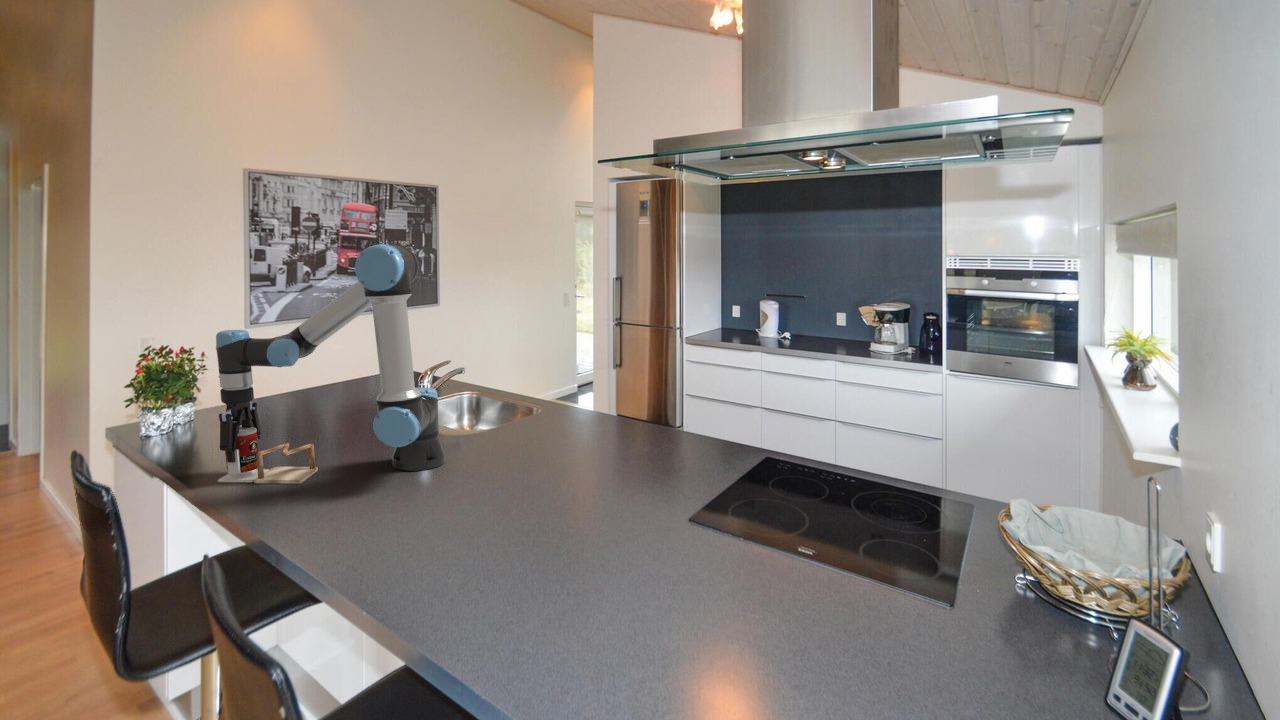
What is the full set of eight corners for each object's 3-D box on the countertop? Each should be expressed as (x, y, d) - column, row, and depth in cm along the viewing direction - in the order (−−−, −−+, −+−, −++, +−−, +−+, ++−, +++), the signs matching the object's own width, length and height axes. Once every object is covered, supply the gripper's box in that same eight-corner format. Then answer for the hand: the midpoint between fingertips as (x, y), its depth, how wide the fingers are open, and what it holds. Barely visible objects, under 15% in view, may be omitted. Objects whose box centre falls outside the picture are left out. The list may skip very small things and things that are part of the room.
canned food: (244, 474, 168) (241, 435, 166) (219, 471, 169) (215, 432, 168) (266, 465, 175) (263, 427, 173) (242, 462, 177) (239, 425, 175)
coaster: (269, 471, 177) (268, 469, 177) (252, 482, 169) (251, 480, 169) (236, 471, 177) (236, 469, 177) (217, 481, 168) (217, 479, 168)
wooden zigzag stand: (317, 470, 179) (316, 442, 178) (299, 483, 169) (297, 454, 167) (275, 469, 178) (273, 441, 177) (254, 483, 168) (252, 453, 167)
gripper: (244, 379, 178) (250, 455, 182) (197, 395, 158) (205, 480, 162) (271, 379, 179) (277, 455, 183) (227, 396, 158) (235, 481, 162)
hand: (243, 467), depth 172 cm, fingers closed on canned food, 8 cm apart
